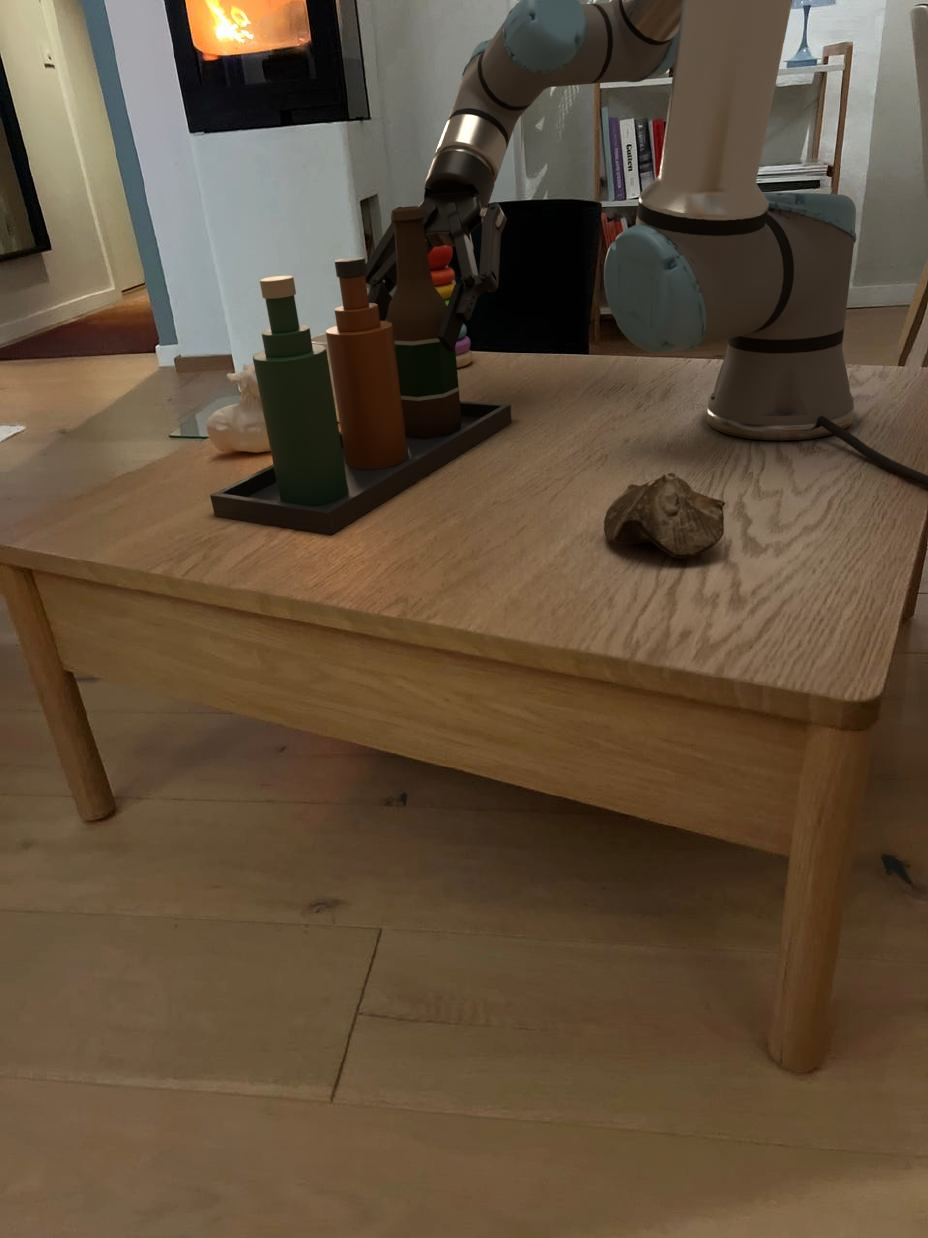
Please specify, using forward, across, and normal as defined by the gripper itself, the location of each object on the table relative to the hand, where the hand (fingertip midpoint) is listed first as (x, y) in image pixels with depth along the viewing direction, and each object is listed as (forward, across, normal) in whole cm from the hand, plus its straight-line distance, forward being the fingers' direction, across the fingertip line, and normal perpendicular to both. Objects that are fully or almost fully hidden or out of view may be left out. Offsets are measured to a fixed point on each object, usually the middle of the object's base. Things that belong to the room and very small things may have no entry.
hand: (405, 342), depth 99 cm
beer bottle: (+5, 0, -10) cm, 11 cm away
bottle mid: (+13, 0, -2) cm, 13 cm away
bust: (+13, +17, -3) cm, 22 cm away
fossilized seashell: (+21, -36, +5) cm, 42 cm away
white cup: (+3, +15, -14) cm, 21 cm away
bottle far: (+21, 0, +6) cm, 22 cm away
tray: (+14, 0, -2) cm, 14 cm away
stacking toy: (-16, +17, -33) cm, 40 cm away
